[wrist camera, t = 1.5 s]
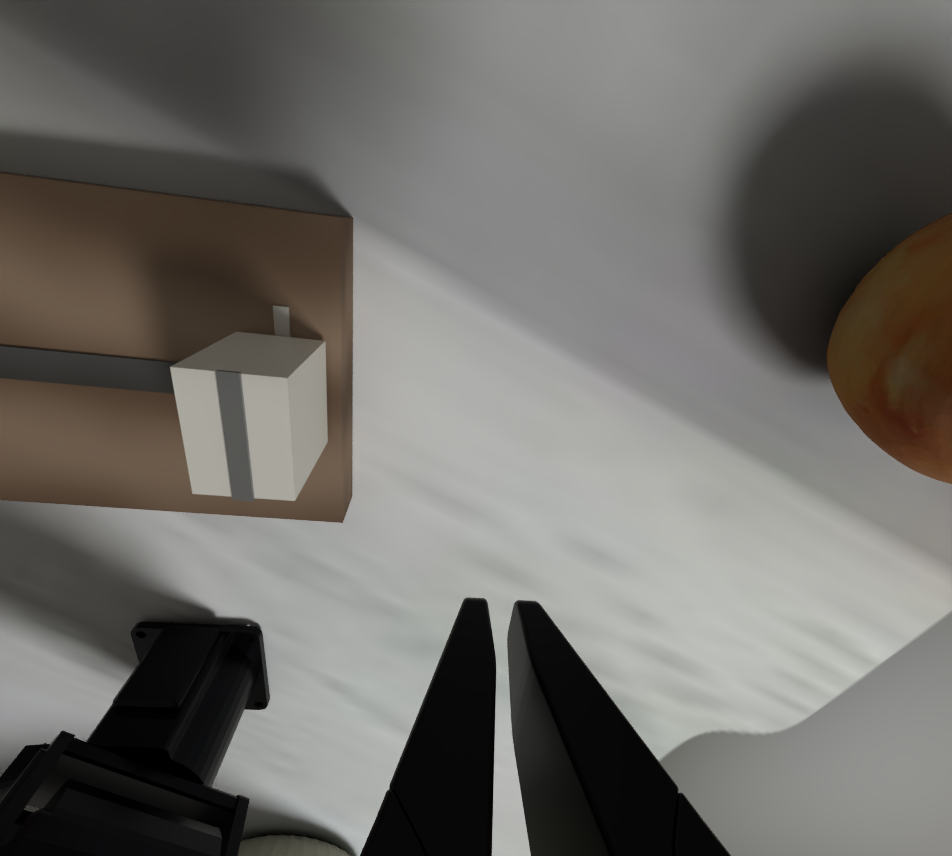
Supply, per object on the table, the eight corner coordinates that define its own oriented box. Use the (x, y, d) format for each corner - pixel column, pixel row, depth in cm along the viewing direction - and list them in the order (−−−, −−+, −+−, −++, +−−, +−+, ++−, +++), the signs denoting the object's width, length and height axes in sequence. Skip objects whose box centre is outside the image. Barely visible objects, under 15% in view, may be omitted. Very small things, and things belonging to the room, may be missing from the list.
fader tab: (327, 443, 17) (293, 504, 14) (247, 436, 17) (191, 496, 13) (325, 339, 16) (286, 377, 12) (236, 330, 15) (167, 366, 12)
